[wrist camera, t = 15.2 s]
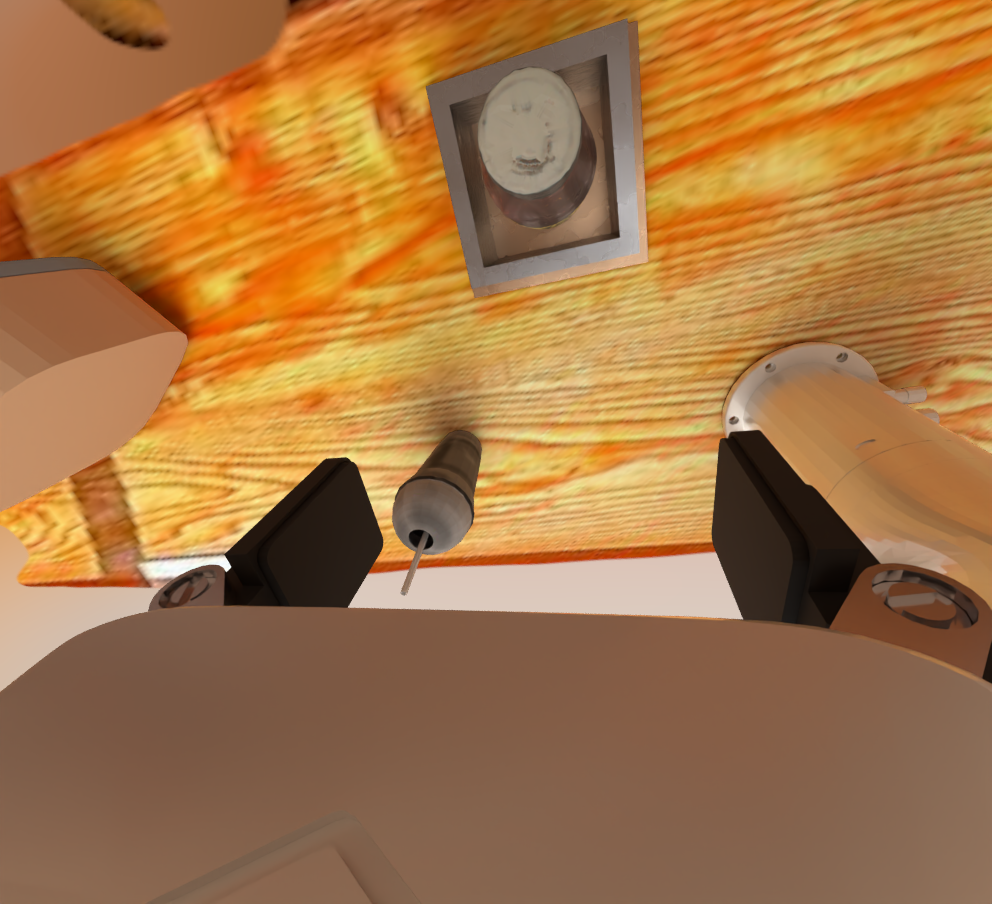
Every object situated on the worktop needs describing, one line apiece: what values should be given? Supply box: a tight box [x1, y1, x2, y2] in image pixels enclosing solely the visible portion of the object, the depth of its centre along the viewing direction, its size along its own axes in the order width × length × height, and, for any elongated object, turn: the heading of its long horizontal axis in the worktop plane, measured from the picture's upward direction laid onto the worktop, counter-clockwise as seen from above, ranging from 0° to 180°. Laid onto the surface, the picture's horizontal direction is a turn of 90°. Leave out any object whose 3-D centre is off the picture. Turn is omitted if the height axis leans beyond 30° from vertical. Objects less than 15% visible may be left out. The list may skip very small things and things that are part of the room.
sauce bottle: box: [477, 66, 597, 229], centre depth 25 cm, size 7×6×20 cm
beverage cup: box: [392, 430, 482, 596], centre depth 39 cm, size 7×7×20 cm
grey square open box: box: [426, 19, 648, 298], centre depth 31 cm, size 15×15×8 cm
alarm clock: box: [0, 257, 188, 512], centre depth 38 cm, size 21×10×22 cm, turn 136°
